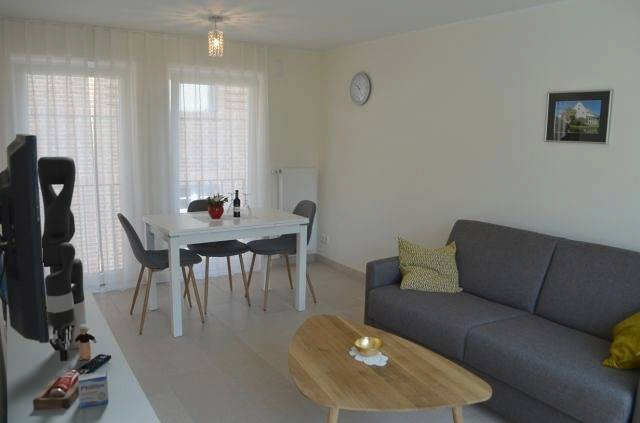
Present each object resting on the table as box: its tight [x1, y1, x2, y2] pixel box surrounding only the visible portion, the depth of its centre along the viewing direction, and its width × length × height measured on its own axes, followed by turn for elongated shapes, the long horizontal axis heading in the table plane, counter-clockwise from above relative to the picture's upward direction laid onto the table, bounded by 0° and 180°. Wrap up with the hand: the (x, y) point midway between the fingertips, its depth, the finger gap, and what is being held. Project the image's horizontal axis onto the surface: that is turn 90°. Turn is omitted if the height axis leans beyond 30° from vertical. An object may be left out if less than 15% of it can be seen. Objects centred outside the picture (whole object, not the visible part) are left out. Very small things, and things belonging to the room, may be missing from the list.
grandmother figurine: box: [74, 324, 98, 361], centre depth 183 cm, size 8×4×13 cm, turn 111°
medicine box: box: [78, 370, 109, 409], centre depth 154 cm, size 8×4×9 cm, turn 114°
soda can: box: [49, 369, 81, 398], centre depth 158 cm, size 5×5×12 cm
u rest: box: [32, 375, 79, 411], centre depth 157 cm, size 15×10×3 cm
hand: (64, 360), depth 160 cm, fingers closed
